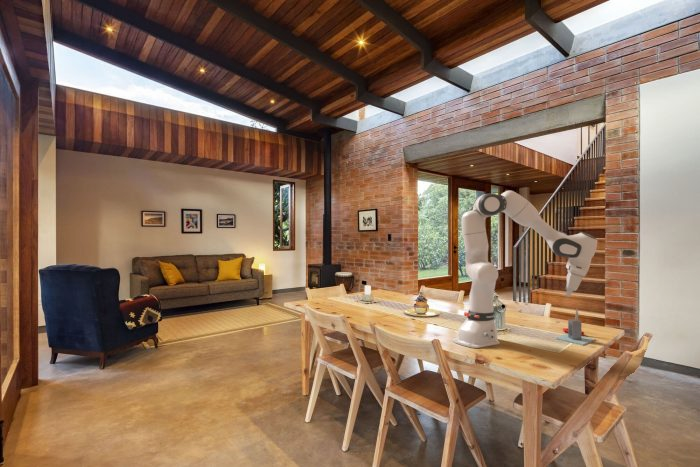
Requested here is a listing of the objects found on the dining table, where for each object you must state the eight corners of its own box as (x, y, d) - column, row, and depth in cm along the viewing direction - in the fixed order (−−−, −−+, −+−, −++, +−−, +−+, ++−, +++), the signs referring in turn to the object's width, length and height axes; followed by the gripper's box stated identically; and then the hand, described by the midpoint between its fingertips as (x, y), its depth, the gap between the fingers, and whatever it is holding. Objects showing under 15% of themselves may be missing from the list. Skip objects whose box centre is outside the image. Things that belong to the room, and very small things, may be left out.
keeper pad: (583, 345, 160) (583, 344, 160) (556, 338, 169) (555, 337, 169) (595, 340, 167) (595, 339, 167) (568, 334, 177) (568, 333, 177)
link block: (581, 340, 166) (581, 321, 166) (572, 339, 166) (572, 321, 166) (576, 337, 170) (576, 319, 170) (568, 337, 170) (568, 319, 170)
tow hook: (559, 329, 185) (568, 333, 176) (560, 305, 186) (568, 308, 176) (576, 331, 184) (586, 335, 174) (577, 307, 184) (586, 309, 175)
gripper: (569, 259, 173) (559, 284, 177) (570, 269, 156) (560, 297, 159) (583, 263, 170) (573, 289, 174) (586, 274, 153) (575, 302, 157)
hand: (567, 293), depth 167 cm, fingers open, 8 cm apart
